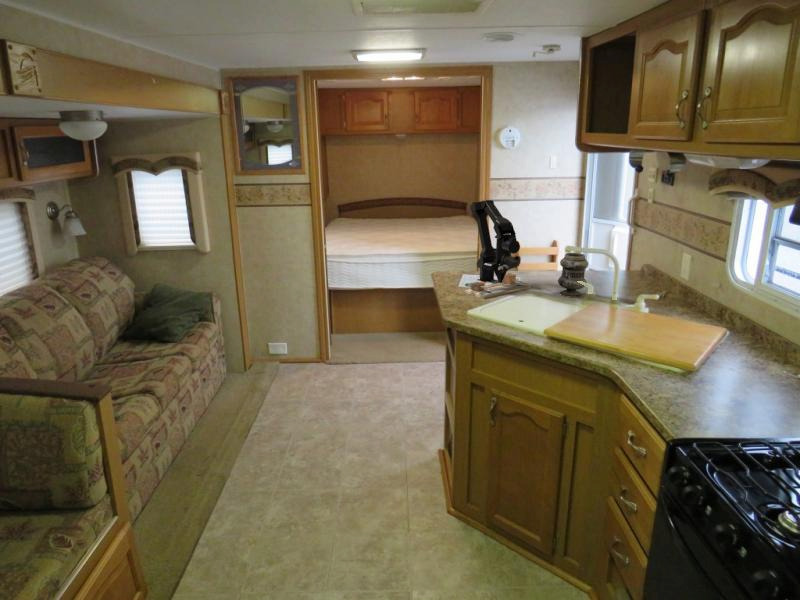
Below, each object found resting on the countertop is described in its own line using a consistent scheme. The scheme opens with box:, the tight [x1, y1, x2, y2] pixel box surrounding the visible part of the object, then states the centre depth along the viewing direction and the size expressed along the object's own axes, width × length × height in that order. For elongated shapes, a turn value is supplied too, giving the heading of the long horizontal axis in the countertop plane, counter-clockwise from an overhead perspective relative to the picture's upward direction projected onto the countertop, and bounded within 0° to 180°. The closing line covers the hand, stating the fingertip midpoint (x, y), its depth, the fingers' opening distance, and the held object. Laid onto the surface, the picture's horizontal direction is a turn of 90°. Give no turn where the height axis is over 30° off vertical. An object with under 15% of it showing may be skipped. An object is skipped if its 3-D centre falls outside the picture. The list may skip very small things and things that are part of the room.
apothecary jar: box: [557, 252, 589, 298], centre depth 239 cm, size 12×12×18 cm
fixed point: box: [470, 281, 490, 292], centre depth 242 cm, size 10×4×3 cm, turn 37°
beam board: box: [464, 281, 531, 299], centre depth 248 cm, size 12×30×2 cm, turn 127°
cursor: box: [502, 272, 523, 284], centre depth 253 cm, size 10×4×4 cm, turn 37°
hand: (500, 282), depth 252 cm, fingers closed
